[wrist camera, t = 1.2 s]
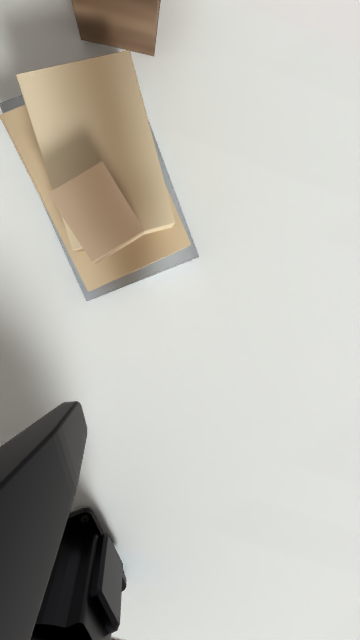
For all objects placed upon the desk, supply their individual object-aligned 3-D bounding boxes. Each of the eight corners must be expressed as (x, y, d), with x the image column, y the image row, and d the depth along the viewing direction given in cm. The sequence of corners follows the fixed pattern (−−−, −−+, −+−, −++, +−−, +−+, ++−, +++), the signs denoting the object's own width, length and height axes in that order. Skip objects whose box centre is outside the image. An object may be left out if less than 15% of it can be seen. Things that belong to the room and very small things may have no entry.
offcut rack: (89, 299, 20) (69, 309, 14) (6, 113, 18) (-56, 36, 12) (196, 257, 20) (218, 250, 14) (126, 71, 18) (121, -22, 13)
